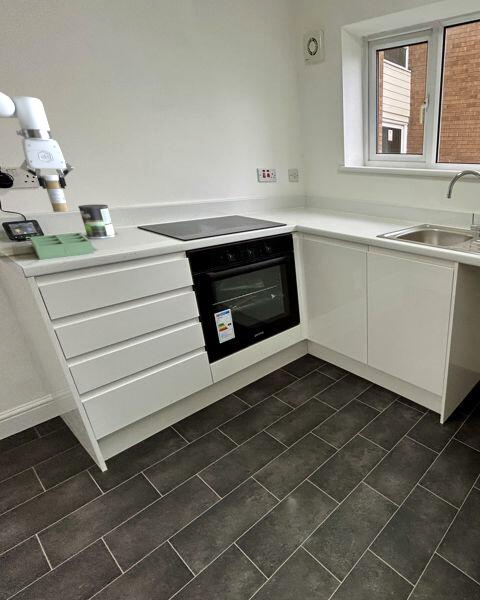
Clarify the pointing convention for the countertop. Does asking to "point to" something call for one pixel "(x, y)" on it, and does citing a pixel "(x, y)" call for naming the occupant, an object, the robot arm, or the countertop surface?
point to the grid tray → (61, 245)
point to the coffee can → (97, 221)
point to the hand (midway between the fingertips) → (54, 188)
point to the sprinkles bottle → (55, 193)
